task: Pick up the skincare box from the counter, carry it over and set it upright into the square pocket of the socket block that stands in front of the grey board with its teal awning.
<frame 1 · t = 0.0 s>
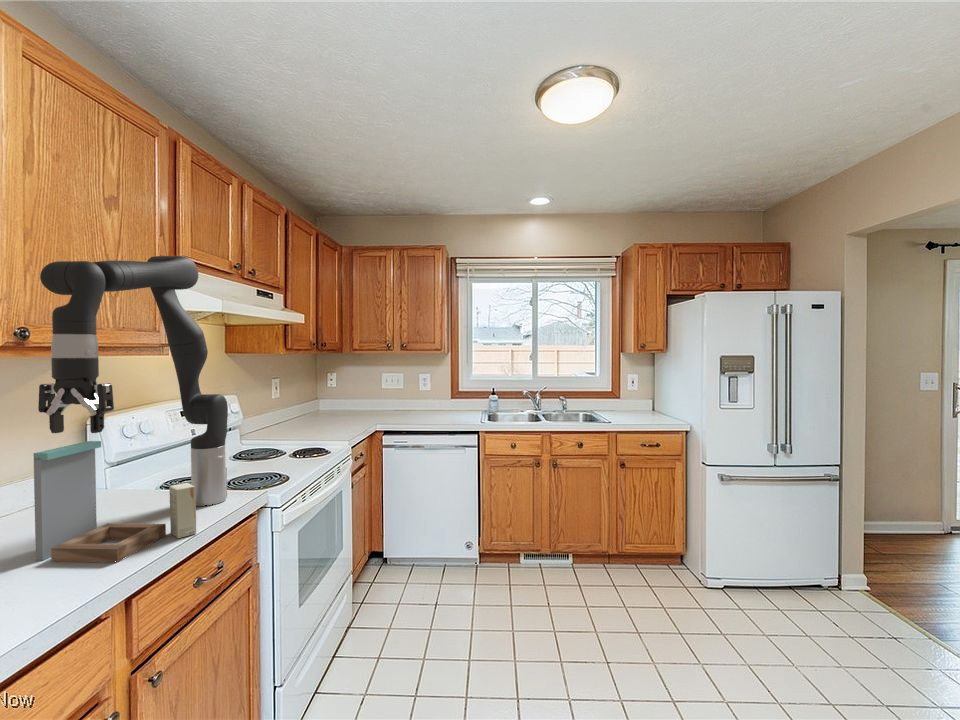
hand: (76, 432, 98), 29 cm above the worktop, tool pointing down, fingers open, 8 cm apart
skincare box: (183, 534, 119), on the worktop
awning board: (68, 547, 110), on the worktop
socket block: (112, 547, 110), on the worktop
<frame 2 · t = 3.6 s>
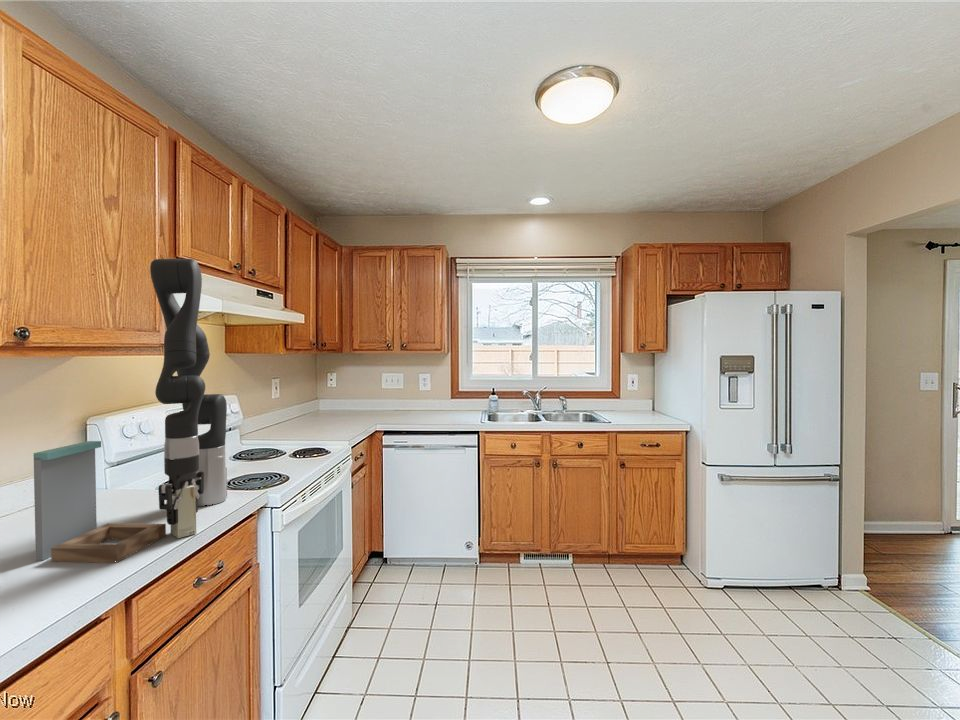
hand: (183, 518, 118), 4 cm above the worktop, tool pointing down, fingers closed on skincare box, 7 cm apart
skincare box: (183, 534, 119), on the worktop, touching gripper
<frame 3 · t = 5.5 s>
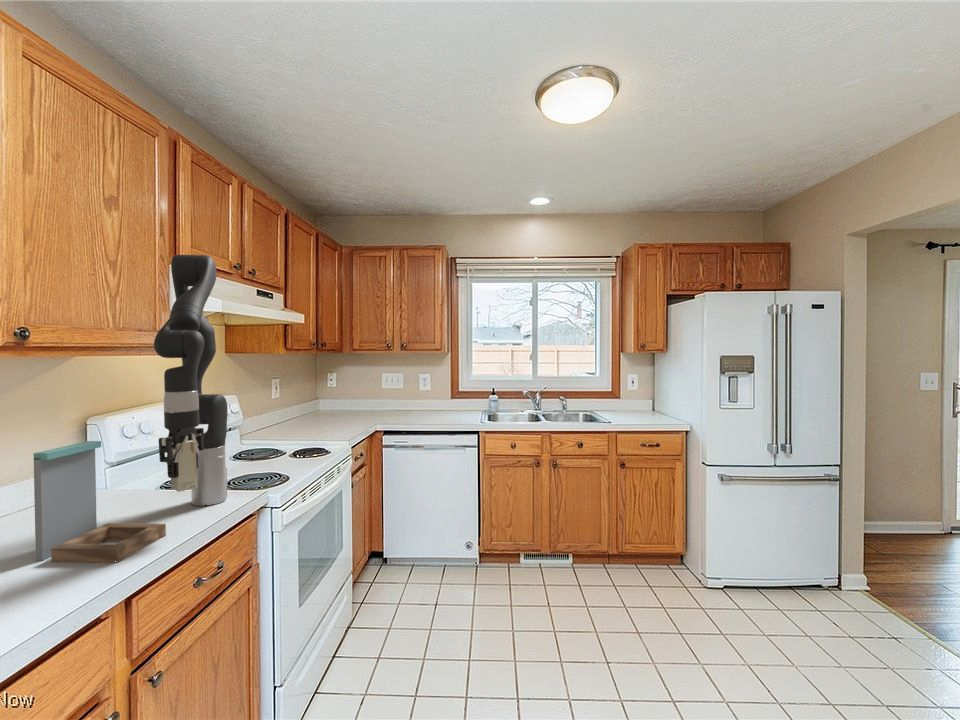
hand: (183, 473, 119), 15 cm above the worktop, tool pointing down, fingers closed on skincare box, 7 cm apart
skincare box: (184, 488, 119), point 11 cm above the worktop, touching gripper
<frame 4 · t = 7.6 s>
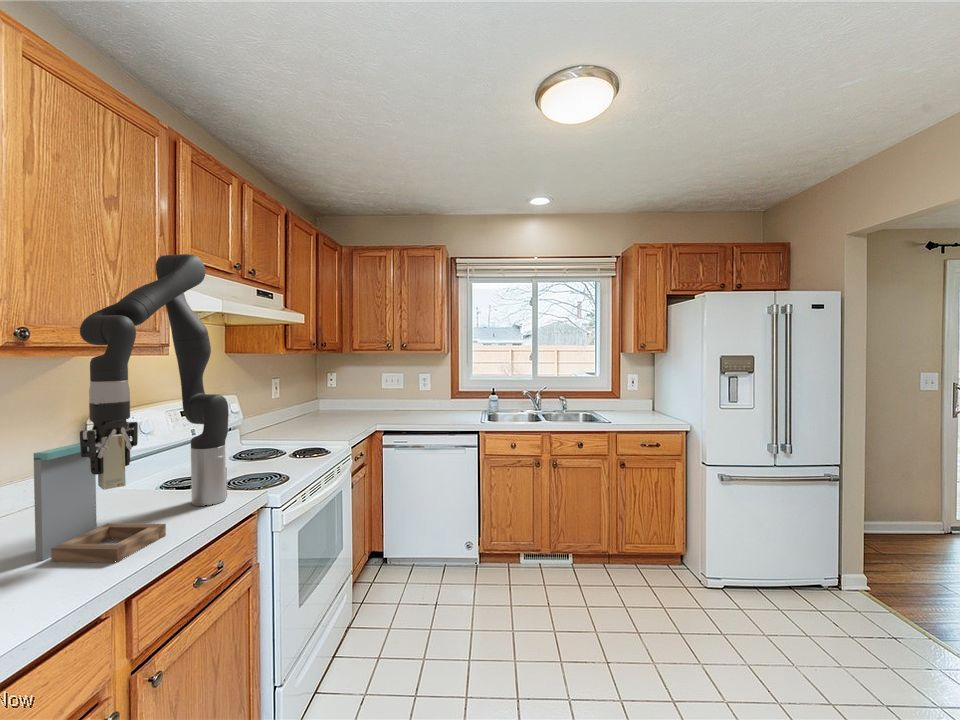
hand: (111, 469, 110), 19 cm above the worktop, tool pointing down, fingers closed on skincare box, 7 cm apart
skincare box: (111, 486, 110), point 14 cm above the worktop, touching gripper
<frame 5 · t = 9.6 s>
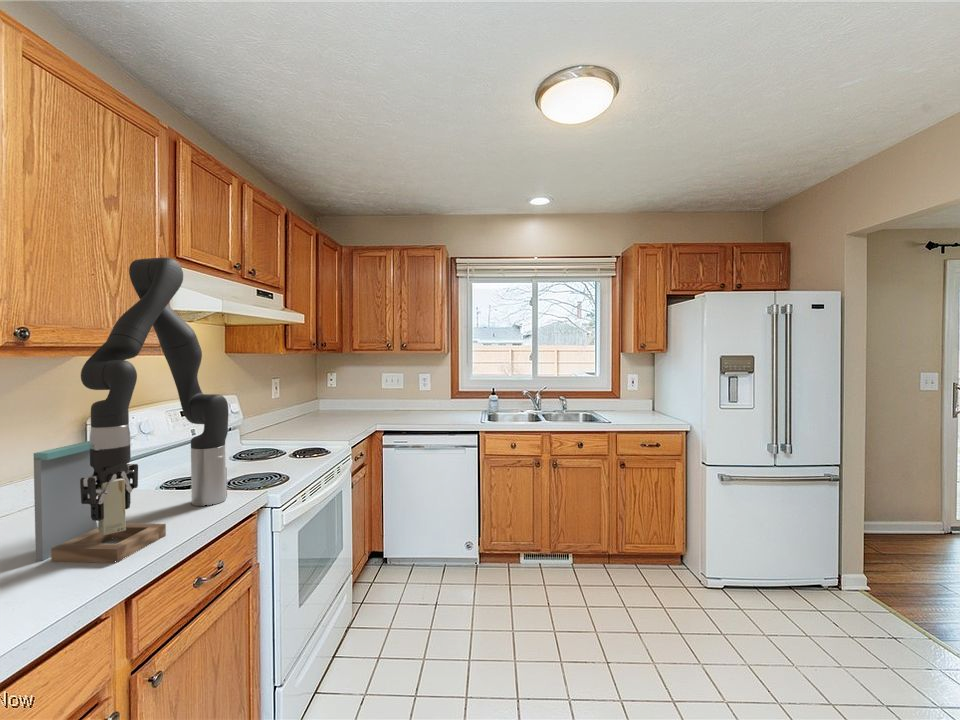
hand: (111, 514, 110), 8 cm above the worktop, tool pointing down, fingers closed on skincare box, 7 cm apart
skincare box: (112, 531, 110), point 4 cm above the worktop, touching gripper
when the fingers open (5 cm above the worktop, at t = 11.5 s): skincare box drops 1 cm, resting in socket block.
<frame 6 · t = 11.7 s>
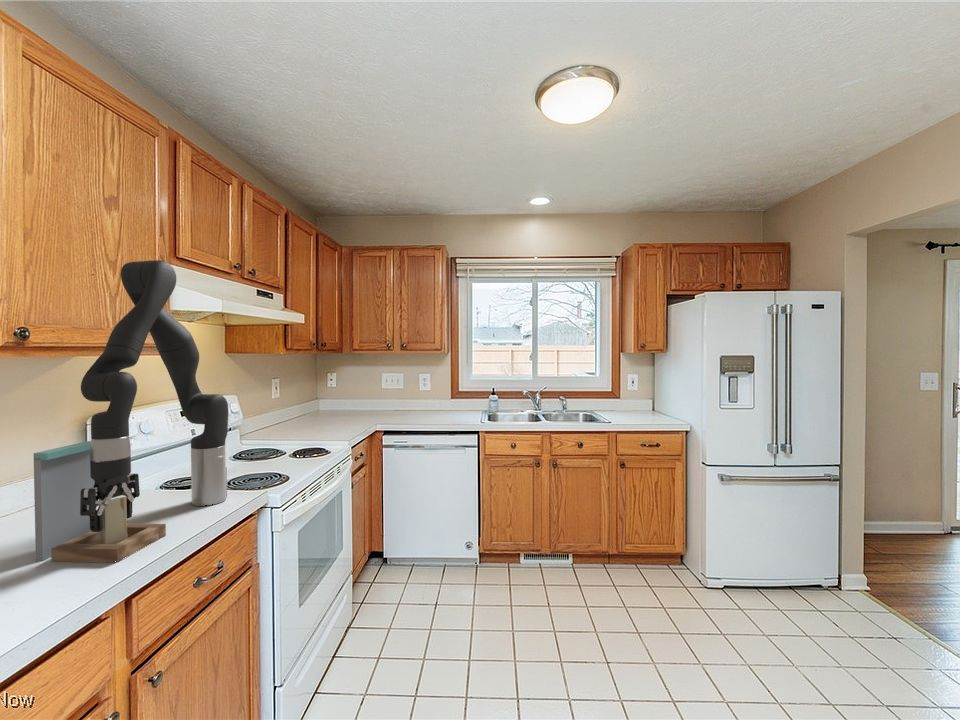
hand: (112, 524, 110), 6 cm above the worktop, tool pointing down, fingers open, 8 cm apart
skincare box: (113, 548, 110), resting in socket block
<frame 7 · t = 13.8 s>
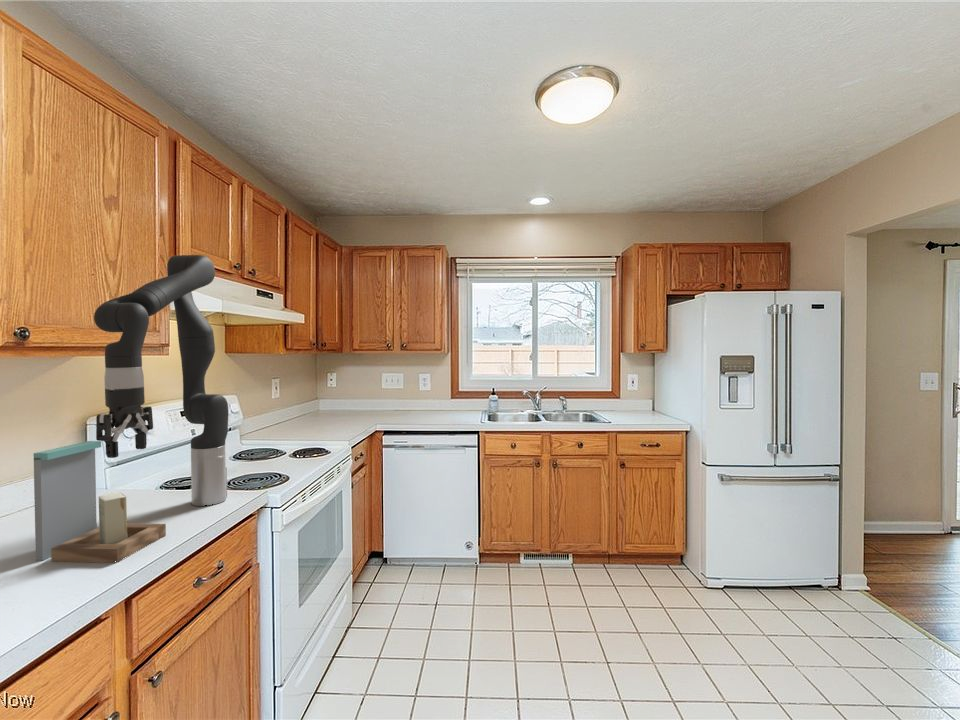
hand: (127, 453, 112), 22 cm above the worktop, tool pointing down, fingers open, 8 cm apart
nothing on the worktop moved.
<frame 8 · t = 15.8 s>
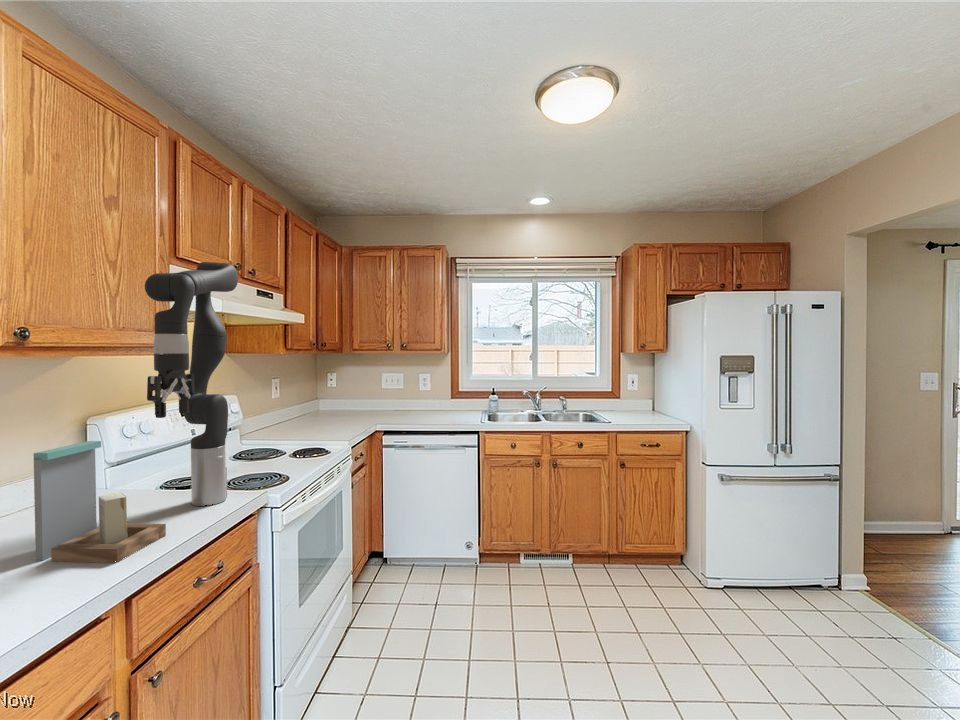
hand: (172, 415, 119), 30 cm above the worktop, tool pointing down, fingers open, 8 cm apart
nothing on the worktop moved.
at the end: skincare box 0.4 cm off-centre on the socket block, point 0.0 cm above the socket block's base; skincare box tilted 0°; the gripper is holding nothing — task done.
